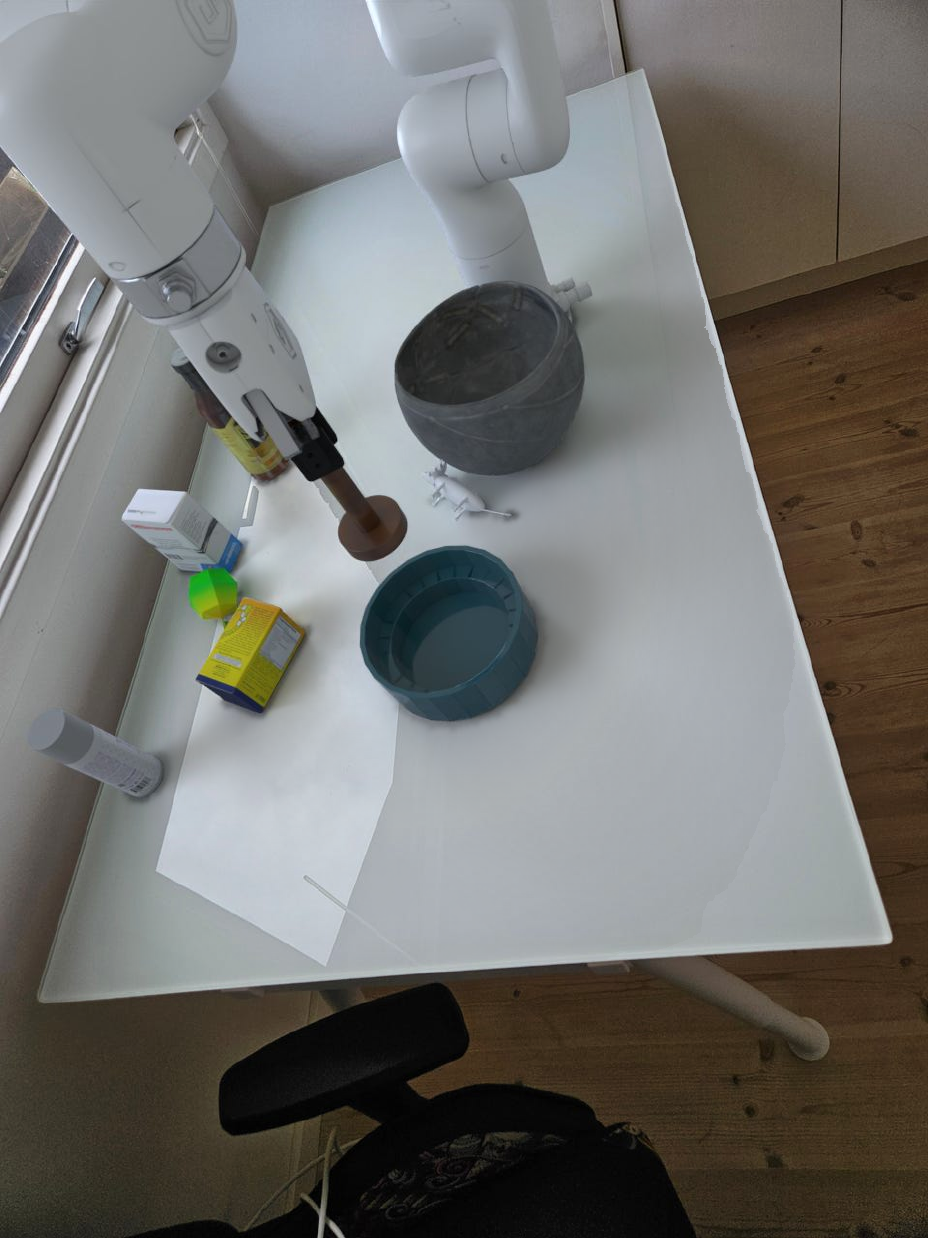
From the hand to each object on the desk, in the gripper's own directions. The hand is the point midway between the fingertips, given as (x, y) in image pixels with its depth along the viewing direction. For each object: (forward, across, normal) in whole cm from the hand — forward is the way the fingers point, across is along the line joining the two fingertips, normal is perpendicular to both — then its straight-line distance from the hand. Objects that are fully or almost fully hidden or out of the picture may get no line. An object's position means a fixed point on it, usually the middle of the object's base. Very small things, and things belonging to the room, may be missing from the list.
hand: (323, 458), depth 63 cm
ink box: (+29, +27, +27) cm, 48 cm away
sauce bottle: (+29, +38, +16) cm, 51 cm away
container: (+30, 0, +39) cm, 49 cm away
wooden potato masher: (+10, 0, 0) cm, 10 cm away
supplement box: (+26, +3, +26) cm, 37 cm away
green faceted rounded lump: (+25, +16, +23) cm, 38 cm away
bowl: (+29, +22, -15) cm, 39 cm away
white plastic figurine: (+27, +14, -4) cm, 31 cm away
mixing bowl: (+29, -2, 0) cm, 29 cm away
